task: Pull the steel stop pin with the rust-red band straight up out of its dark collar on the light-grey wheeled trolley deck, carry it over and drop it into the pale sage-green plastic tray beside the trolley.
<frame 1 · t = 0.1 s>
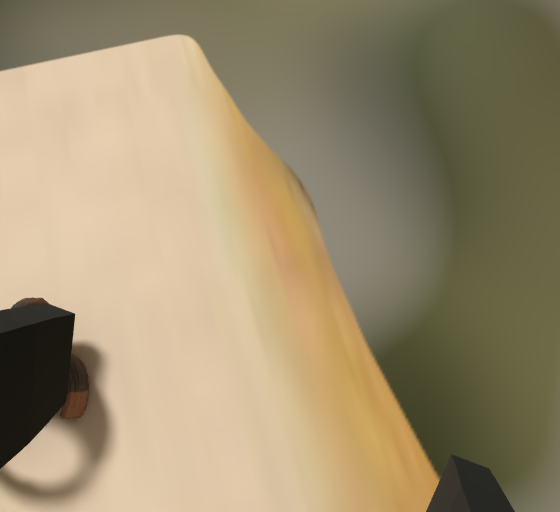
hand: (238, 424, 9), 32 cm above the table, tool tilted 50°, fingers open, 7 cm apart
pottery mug: (35, 385, 42), on the table
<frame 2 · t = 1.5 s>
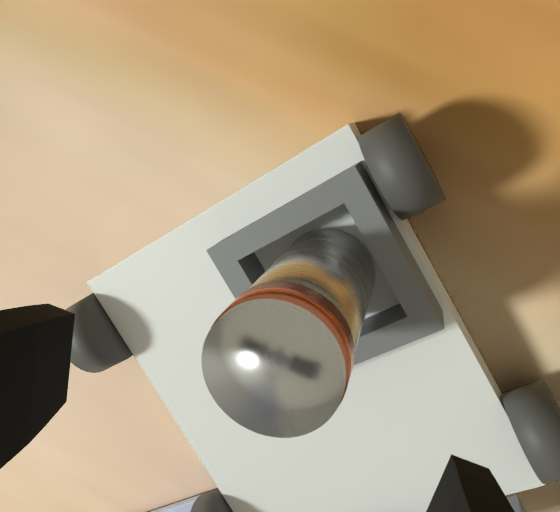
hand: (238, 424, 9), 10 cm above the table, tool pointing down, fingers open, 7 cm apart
trolley deck: (307, 357, 20), on the table
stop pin: (328, 273, 17), point 1 cm above the table, touching trolley deck
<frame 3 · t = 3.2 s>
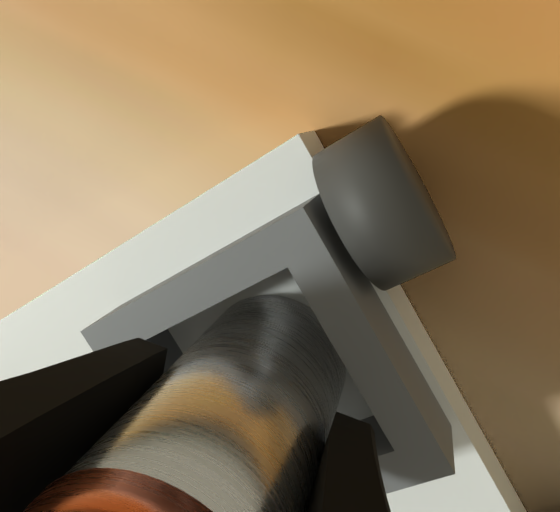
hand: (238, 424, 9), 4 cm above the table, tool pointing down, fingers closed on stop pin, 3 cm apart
trolley deck: (256, 463, 14), on the table
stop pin: (275, 361, 11), point 1 cm above the table, touching gripper, trolley deck
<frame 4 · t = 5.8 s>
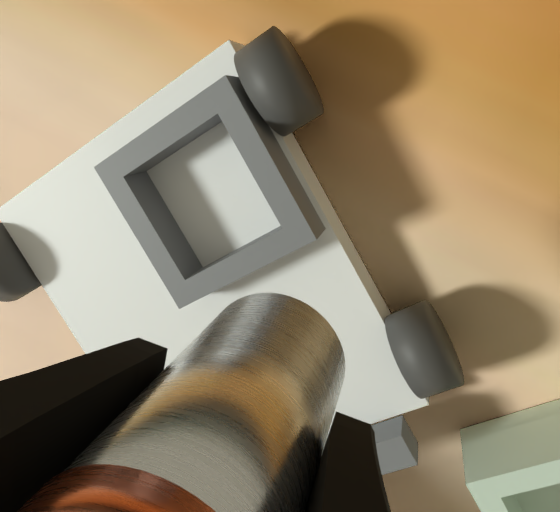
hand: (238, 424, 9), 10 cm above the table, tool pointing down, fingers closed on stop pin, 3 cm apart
trolley deck: (211, 287, 20), on the table
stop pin: (274, 359, 11), point 8 cm above the table, touching gripper
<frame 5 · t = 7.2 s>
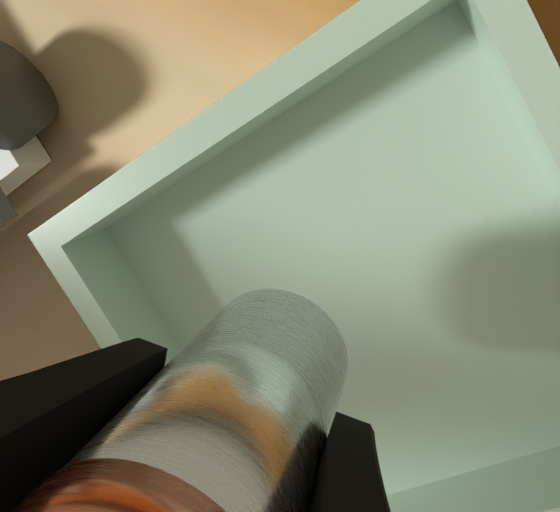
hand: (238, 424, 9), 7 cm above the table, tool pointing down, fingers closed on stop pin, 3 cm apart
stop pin: (276, 356, 11), point 5 cm above the table, touching gripper
tray: (360, 302, 16), on the table
when the fingers open (5 cm above the table, at t = 8.2 s): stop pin drops 2 cm, resting on tray.
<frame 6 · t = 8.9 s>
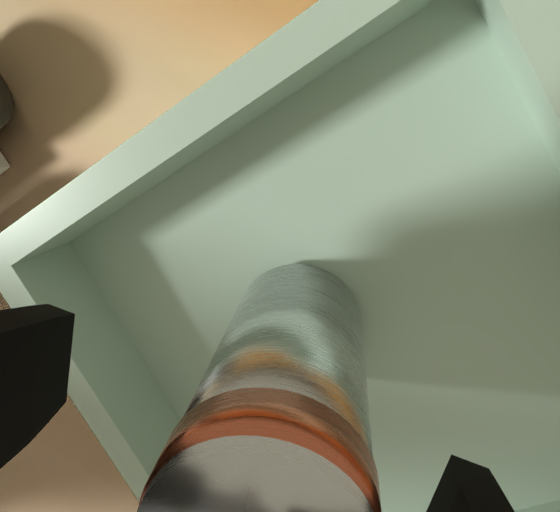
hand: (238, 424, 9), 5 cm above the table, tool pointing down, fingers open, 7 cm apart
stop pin: (298, 322, 13), point 1 cm above the table, tilted 9°, touching tray
tray: (353, 327, 14), on the table
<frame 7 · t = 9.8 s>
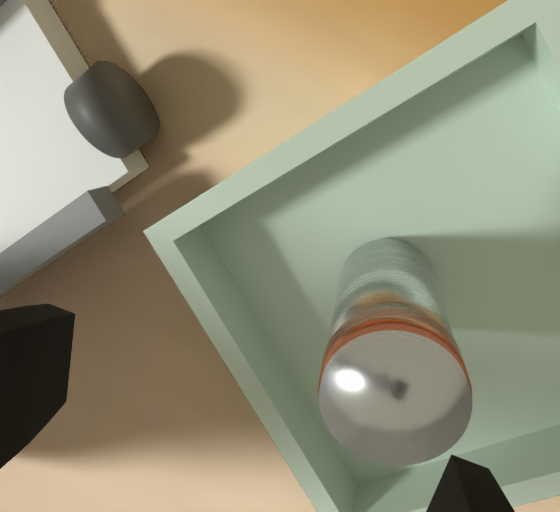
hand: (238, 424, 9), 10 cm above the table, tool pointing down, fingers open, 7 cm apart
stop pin: (386, 283, 17), point 1 cm above the table, tilted 6°, touching tray
tray: (425, 289, 18), on the table
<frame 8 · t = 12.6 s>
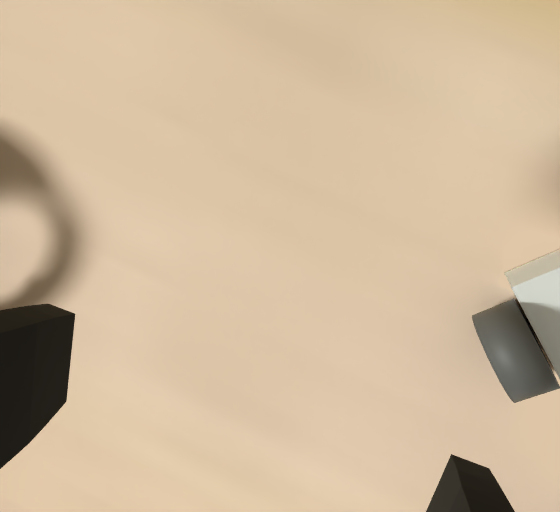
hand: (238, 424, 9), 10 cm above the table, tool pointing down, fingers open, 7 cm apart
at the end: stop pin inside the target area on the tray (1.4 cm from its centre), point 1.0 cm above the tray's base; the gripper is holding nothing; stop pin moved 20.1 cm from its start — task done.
